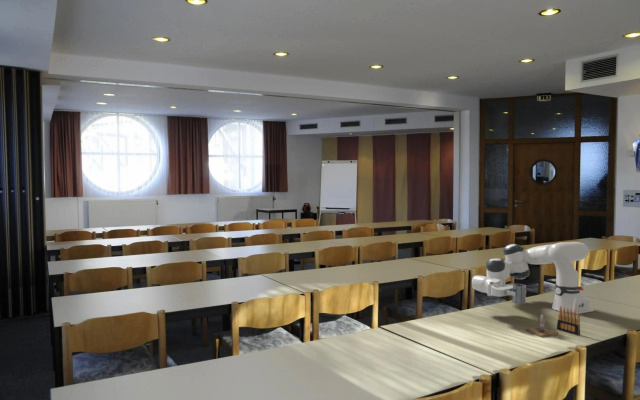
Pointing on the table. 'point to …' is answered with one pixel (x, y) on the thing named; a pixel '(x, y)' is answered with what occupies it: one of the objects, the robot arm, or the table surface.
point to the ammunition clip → (568, 321)
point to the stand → (542, 329)
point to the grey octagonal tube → (519, 293)
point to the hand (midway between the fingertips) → (520, 293)
